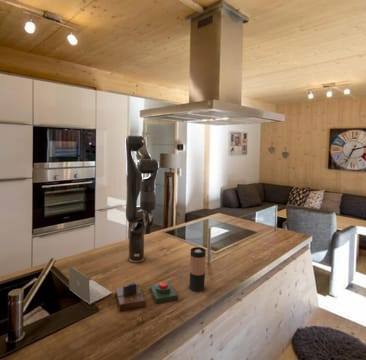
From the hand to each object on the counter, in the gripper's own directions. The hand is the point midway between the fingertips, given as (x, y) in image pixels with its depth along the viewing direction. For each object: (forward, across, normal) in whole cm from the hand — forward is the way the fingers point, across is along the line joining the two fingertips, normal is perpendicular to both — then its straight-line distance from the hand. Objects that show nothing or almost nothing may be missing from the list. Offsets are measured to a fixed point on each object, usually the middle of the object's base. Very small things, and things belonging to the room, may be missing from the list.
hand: (147, 233), depth 140 cm
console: (+27, -12, +11) cm, 32 cm away
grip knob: (+24, -12, +11) cm, 29 cm away
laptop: (+27, 0, +28) cm, 39 cm away
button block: (+27, -12, -5) cm, 30 cm away
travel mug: (+27, -11, -23) cm, 37 cm away
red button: (+23, -12, -5) cm, 27 cm away
